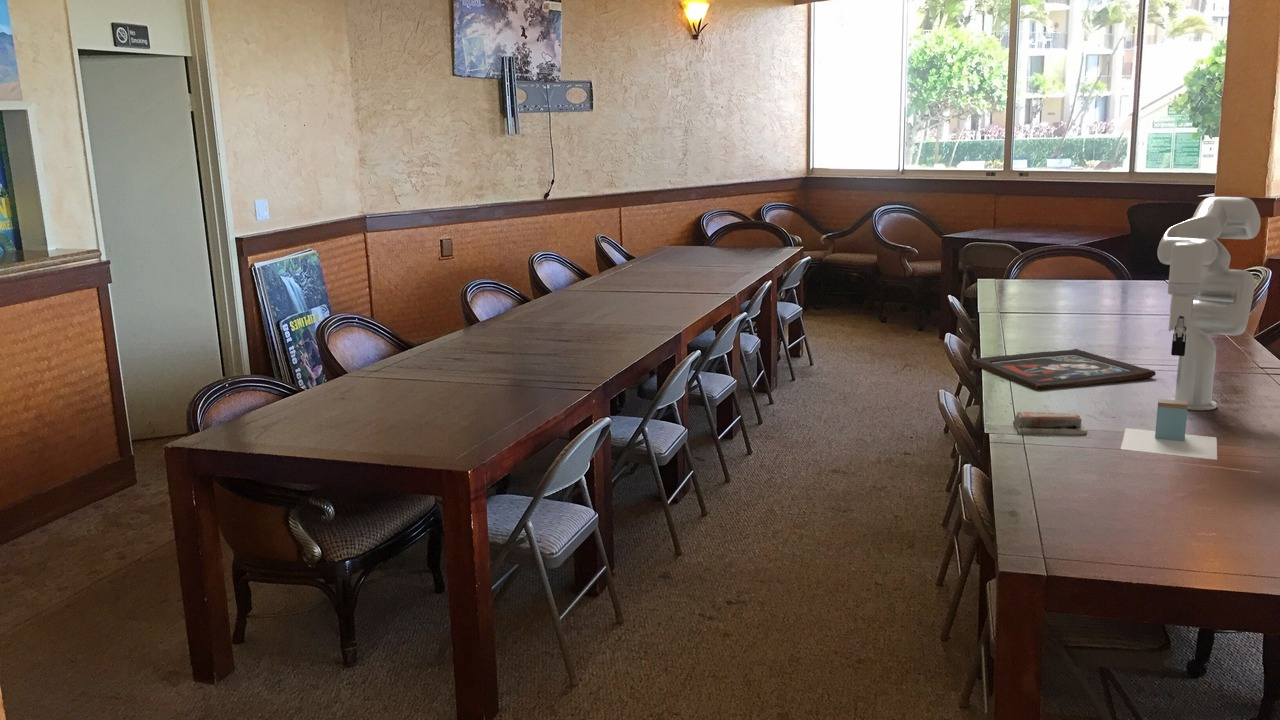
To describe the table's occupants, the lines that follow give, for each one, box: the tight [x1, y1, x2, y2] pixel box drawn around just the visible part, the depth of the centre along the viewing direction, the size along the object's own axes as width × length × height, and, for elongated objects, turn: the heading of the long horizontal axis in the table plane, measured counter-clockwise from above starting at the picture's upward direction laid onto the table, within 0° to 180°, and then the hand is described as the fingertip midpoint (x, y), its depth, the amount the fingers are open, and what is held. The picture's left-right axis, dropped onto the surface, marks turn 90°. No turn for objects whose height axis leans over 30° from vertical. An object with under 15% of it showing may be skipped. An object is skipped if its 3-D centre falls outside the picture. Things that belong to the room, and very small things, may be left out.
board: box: [1120, 427, 1218, 461], centre depth 270 cm, size 20×22×1 cm
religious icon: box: [971, 348, 1156, 391], centre depth 349 cm, size 40×45×3 cm
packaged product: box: [1012, 411, 1088, 436], centre depth 287 cm, size 18×5×10 cm
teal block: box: [1154, 398, 1188, 441], centre depth 274 cm, size 4×7×10 cm, turn 62°
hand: (1178, 351), depth 278 cm, fingers open, 8 cm apart
